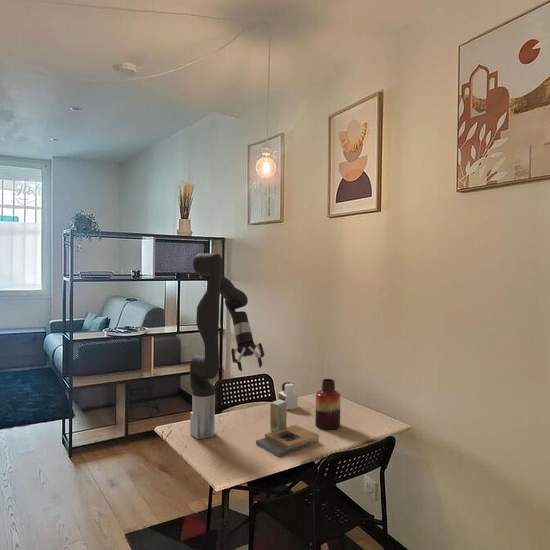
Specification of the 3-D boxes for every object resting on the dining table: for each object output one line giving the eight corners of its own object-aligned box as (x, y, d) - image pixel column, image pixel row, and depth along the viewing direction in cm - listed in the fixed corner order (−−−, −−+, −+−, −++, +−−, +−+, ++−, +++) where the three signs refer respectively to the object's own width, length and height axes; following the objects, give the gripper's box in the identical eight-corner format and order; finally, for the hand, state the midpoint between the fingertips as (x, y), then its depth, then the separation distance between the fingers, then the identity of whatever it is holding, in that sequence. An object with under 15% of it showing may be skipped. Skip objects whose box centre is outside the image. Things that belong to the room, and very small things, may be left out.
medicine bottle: (278, 405, 221) (278, 382, 220) (291, 404, 224) (291, 380, 223) (284, 410, 214) (284, 386, 214) (297, 408, 217) (298, 384, 217)
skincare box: (279, 426, 194) (279, 398, 194) (286, 428, 192) (287, 400, 191) (269, 430, 189) (269, 402, 189) (277, 433, 187) (277, 404, 186)
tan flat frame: (278, 457, 165) (278, 449, 164) (255, 444, 175) (256, 436, 175) (318, 442, 178) (318, 435, 178) (295, 431, 189) (295, 424, 189)
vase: (328, 432, 188) (328, 385, 187) (310, 425, 196) (311, 379, 195) (345, 426, 195) (346, 381, 194) (327, 419, 203) (328, 375, 202)
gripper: (228, 334, 196) (235, 370, 190) (259, 328, 199) (267, 363, 193) (227, 339, 203) (234, 374, 197) (257, 333, 206) (265, 367, 200)
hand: (251, 369), depth 195 cm, fingers open, 8 cm apart
